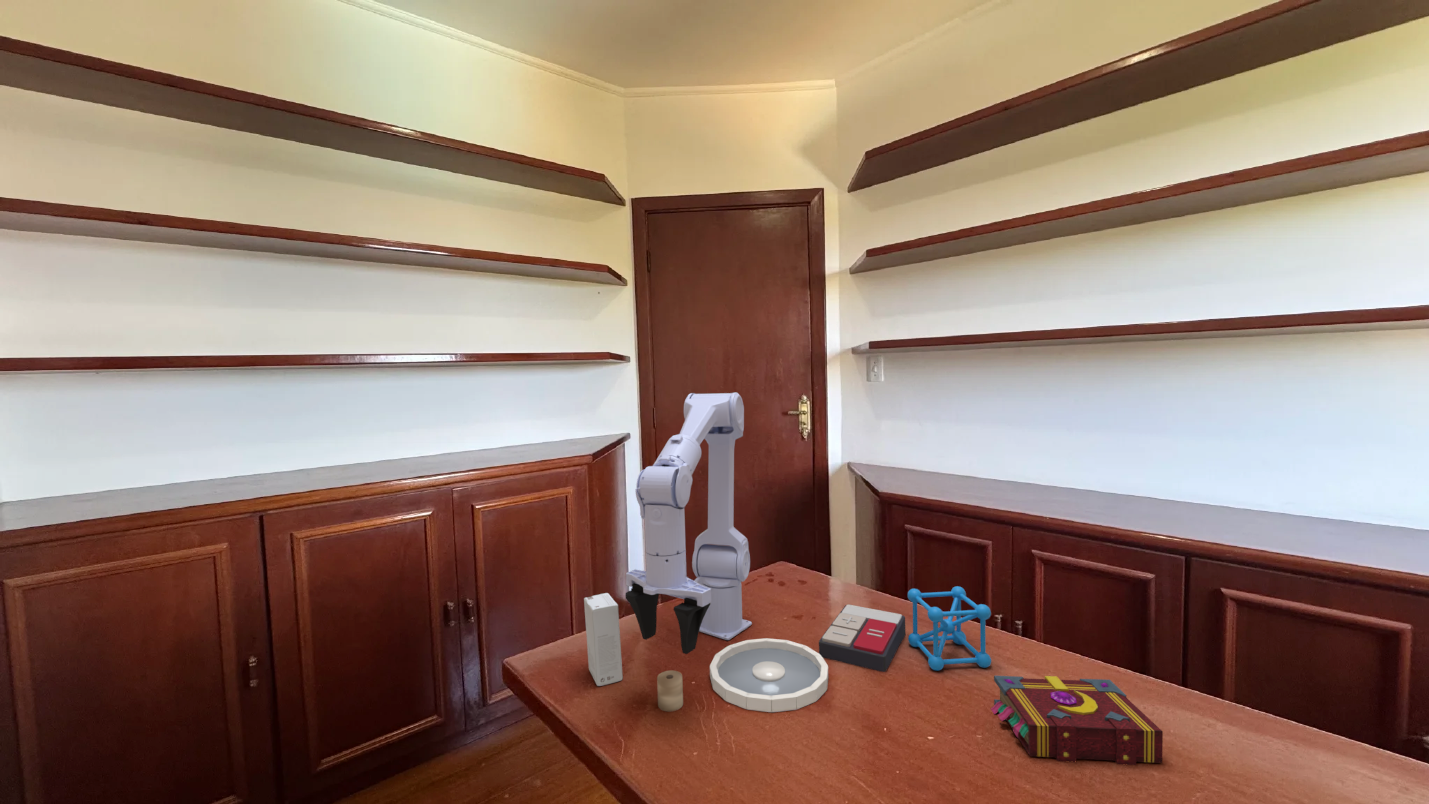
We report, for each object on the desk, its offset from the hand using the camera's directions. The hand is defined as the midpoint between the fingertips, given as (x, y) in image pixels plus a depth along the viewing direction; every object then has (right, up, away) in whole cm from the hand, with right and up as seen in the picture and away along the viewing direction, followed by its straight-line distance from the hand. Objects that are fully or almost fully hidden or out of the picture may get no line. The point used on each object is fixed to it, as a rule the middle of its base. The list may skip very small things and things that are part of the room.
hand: (668, 643), depth 80 cm
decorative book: (+52, -8, -8) cm, 53 cm away
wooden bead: (0, -9, 0) cm, 9 cm away
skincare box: (-11, -9, +9) cm, 17 cm away
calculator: (+32, -8, +17) cm, 37 cm away
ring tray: (+15, -8, +7) cm, 18 cm away
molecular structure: (+45, -7, +12) cm, 47 cm away
